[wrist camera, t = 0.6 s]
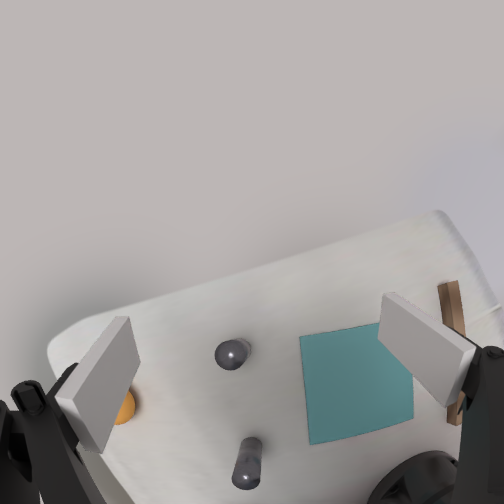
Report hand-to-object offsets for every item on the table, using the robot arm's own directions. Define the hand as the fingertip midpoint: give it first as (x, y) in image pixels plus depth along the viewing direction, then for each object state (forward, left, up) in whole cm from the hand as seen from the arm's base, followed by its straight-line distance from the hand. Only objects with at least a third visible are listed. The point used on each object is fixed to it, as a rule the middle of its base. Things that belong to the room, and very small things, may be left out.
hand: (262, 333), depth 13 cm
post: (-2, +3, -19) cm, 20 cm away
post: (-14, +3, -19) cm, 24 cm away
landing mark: (-8, -11, -19) cm, 24 cm away
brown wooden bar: (-8, -25, -19) cm, 33 cm away
